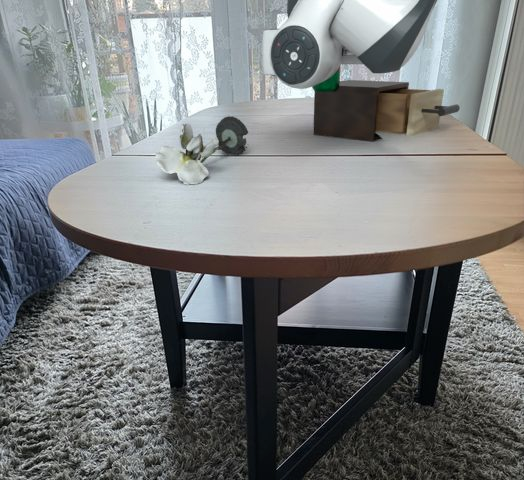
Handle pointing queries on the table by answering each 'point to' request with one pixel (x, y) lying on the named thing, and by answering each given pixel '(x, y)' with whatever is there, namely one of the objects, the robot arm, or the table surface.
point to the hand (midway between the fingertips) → (327, 50)
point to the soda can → (329, 83)
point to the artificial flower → (201, 150)
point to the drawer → (411, 110)
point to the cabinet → (351, 109)
